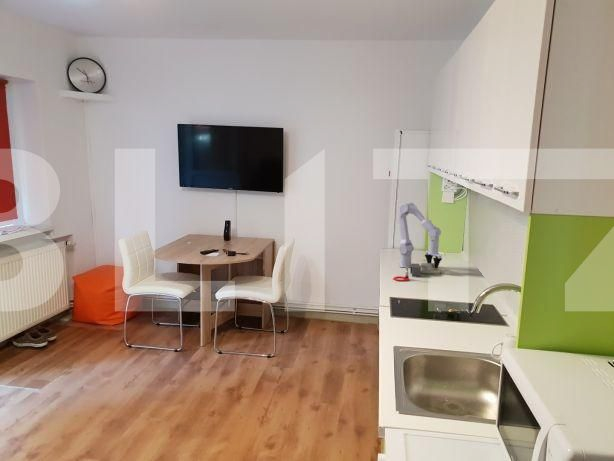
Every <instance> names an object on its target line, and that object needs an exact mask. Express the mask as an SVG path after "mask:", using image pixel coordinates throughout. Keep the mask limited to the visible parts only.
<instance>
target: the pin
mask: <svg viewBox="0 0 614 461" xmlns="http://www.w3.org/2000/svg"><path fill="white" fill-rule="evenodd" d="M420 266H421V270H427V271H429V270H437V268H434V262H431V263H427V262H425V263H424V262H422V263H421V265H420Z"/></svg>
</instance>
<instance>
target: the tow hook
mask: <svg viewBox="0 0 614 461" xmlns="http://www.w3.org/2000/svg"><path fill="white" fill-rule="evenodd" d="M409 276H410V275H409V268H408V259H407V260H406V268H405V276H403V275H402V276H393V278H392V280H393V279H394V280H393V281H395V282H406V281H407V282H409V281H410V279H409V278H410V277H409Z"/></svg>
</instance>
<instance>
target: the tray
mask: <svg viewBox="0 0 614 461" xmlns="http://www.w3.org/2000/svg"><path fill="white" fill-rule="evenodd" d="M420 267H421V265H420ZM421 274H431V275H432V274H436V275H439V274H440V275H442V270H441V268H440V267H439V266H438V268H437V270H429V271H427V270H421Z"/></svg>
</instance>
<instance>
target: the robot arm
mask: <svg viewBox="0 0 614 461" xmlns="http://www.w3.org/2000/svg"><path fill="white" fill-rule="evenodd" d="M398 208H399V210H398V213H397V220H398V226H399V232H400V242H399V247H398V251H399V253H400V259H399V263H398V265H399V267H400V268H405V269H406V260H407V259H408V269H410V268H411V263H412V252H413V251H414V245H413V243H412V240H410V235H409V234H410V233H409V228H408V227H409V226H408V220H407V216H408V215H409V214H411V215H414V216H415V217H416V219H418V220H419V221H420V222H421V226H422V227H423V228H424V229H425V230H426V231H427V233H428V236H429V245H428V246H429V248H428V249H429V250H425V254H424V257H425V259H426V263H434V268H438V267H439V265H440V263H441V261H442V260H443V258H442V254H440V253H439V244H440V243H439V242H440V235H441V229H440V228H439V227H437V226H436V225H435V224H434V223H433V222H432V220H431V219H428V218H425V216H424V215H423V214H422V212H421V211H420V210H419V208H418V206H417V205H416V204H415V203H413V202H412V201H408V202H403V203H401V204H400V206H399V207H398ZM432 260H433V261H432Z"/></svg>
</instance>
